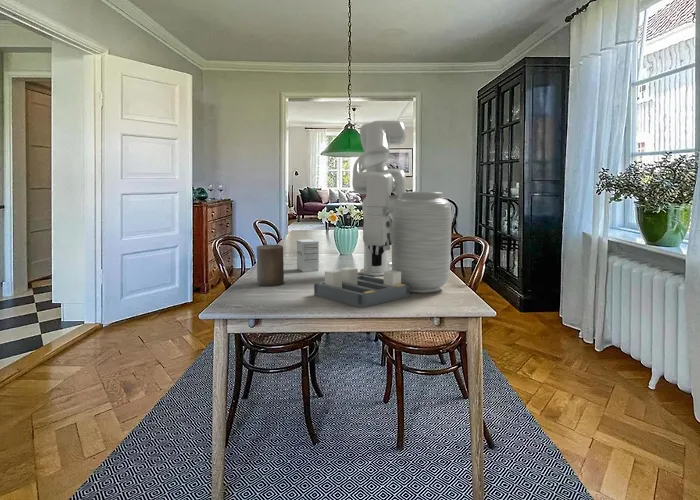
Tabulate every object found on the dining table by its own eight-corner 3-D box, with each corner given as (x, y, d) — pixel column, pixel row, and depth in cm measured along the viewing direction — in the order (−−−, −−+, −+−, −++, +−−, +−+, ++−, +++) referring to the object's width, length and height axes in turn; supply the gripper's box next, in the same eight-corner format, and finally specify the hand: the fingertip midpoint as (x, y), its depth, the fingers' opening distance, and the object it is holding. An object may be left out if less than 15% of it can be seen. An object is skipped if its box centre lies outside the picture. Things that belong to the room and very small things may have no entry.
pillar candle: (289, 283, 178) (288, 242, 175) (267, 287, 170) (267, 245, 168) (272, 279, 184) (272, 240, 182) (251, 283, 177) (250, 242, 175)
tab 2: (383, 292, 159) (383, 271, 158) (391, 290, 161) (391, 270, 160) (392, 294, 156) (393, 273, 155) (400, 292, 159) (401, 271, 158)
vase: (381, 284, 176) (382, 191, 171) (430, 280, 183) (432, 191, 179) (408, 297, 157) (410, 192, 153) (461, 292, 165) (464, 192, 160)
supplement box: (296, 269, 206) (296, 239, 204) (313, 268, 209) (312, 238, 207) (302, 272, 199) (302, 241, 198) (319, 271, 203) (319, 240, 201)
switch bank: (314, 295, 159) (314, 282, 159) (361, 285, 174) (361, 274, 174) (361, 308, 144) (361, 294, 143) (409, 296, 159) (409, 283, 158)
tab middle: (340, 289, 163) (340, 268, 162) (349, 287, 166) (349, 267, 165) (348, 291, 160) (348, 270, 159) (357, 289, 163) (357, 268, 162)
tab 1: (324, 292, 158) (324, 271, 157) (333, 290, 161) (333, 269, 160) (332, 294, 156) (332, 273, 155) (342, 292, 158) (342, 271, 157)
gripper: (402, 212, 158) (400, 267, 161) (369, 208, 168) (368, 260, 172) (386, 214, 152) (385, 271, 156) (353, 210, 163) (353, 263, 167)
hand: (376, 265), depth 164 cm, fingers closed
